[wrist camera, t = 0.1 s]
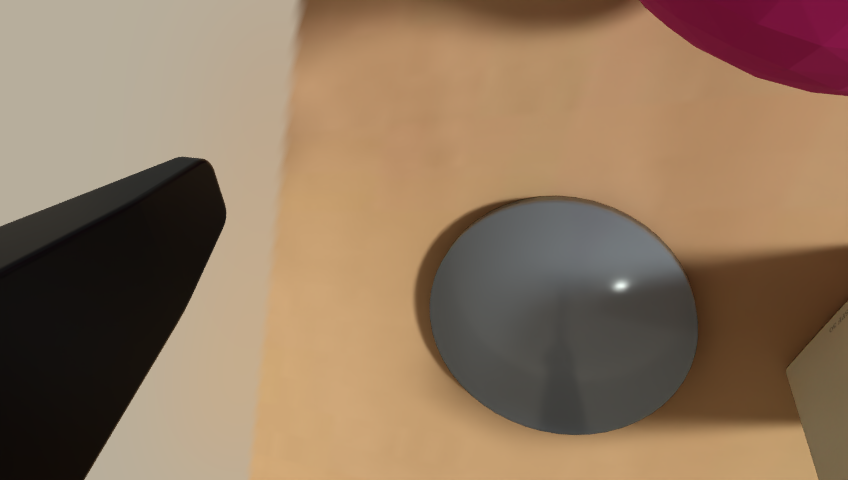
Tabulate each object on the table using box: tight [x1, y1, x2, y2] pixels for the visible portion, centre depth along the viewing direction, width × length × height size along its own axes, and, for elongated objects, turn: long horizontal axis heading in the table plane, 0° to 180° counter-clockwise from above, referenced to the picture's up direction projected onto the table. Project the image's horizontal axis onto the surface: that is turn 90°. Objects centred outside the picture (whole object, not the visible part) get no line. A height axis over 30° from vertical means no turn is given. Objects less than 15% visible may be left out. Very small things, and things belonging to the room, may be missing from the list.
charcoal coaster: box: [430, 196, 698, 435], centre depth 26 cm, size 10×10×1 cm
